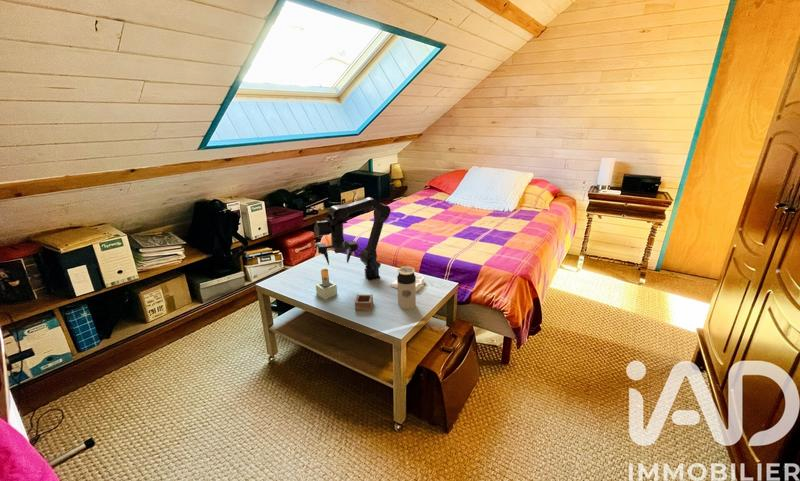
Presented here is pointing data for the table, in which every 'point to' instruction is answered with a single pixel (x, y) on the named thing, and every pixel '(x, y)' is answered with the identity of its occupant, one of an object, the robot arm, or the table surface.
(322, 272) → the gold and grey cylinder
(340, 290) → the table surface
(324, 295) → the cream square hollow block
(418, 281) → the knuckle duster
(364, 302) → the brown square open box
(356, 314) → the table surface
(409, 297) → the travel mug
